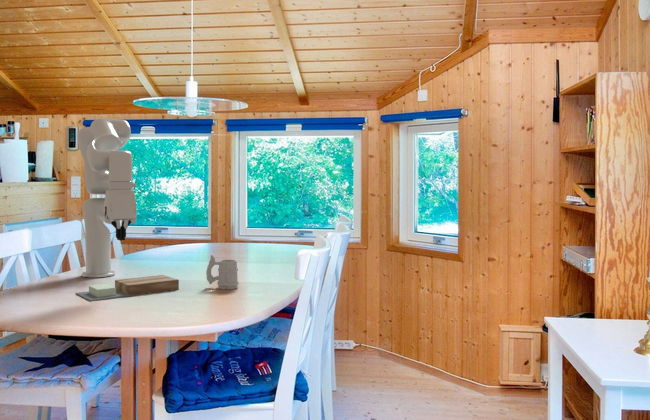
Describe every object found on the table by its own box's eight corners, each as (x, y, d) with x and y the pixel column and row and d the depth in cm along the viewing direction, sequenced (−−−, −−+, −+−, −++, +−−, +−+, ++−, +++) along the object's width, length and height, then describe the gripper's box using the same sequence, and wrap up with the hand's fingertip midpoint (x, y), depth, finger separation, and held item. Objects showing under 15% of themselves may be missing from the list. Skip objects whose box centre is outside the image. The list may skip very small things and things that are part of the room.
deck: (115, 289, 199) (114, 280, 199) (163, 284, 211) (162, 274, 211) (129, 295, 189) (129, 285, 189) (178, 289, 201) (178, 279, 201)
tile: (106, 283, 195) (106, 290, 195) (88, 285, 191) (88, 292, 191) (115, 287, 188) (116, 295, 188) (97, 289, 184) (97, 297, 185)
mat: (75, 294, 191) (75, 292, 191) (116, 289, 201) (116, 288, 200) (90, 301, 180) (90, 300, 180) (133, 295, 189) (133, 294, 189)
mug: (237, 289, 202) (237, 256, 201) (204, 289, 201) (203, 256, 201) (240, 285, 209) (240, 253, 209) (208, 285, 209) (208, 253, 208)
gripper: (137, 186, 200) (137, 237, 201) (94, 186, 190) (95, 240, 191) (146, 186, 194) (146, 239, 195) (102, 187, 185) (102, 242, 186)
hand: (120, 239), depth 193 cm, fingers closed
